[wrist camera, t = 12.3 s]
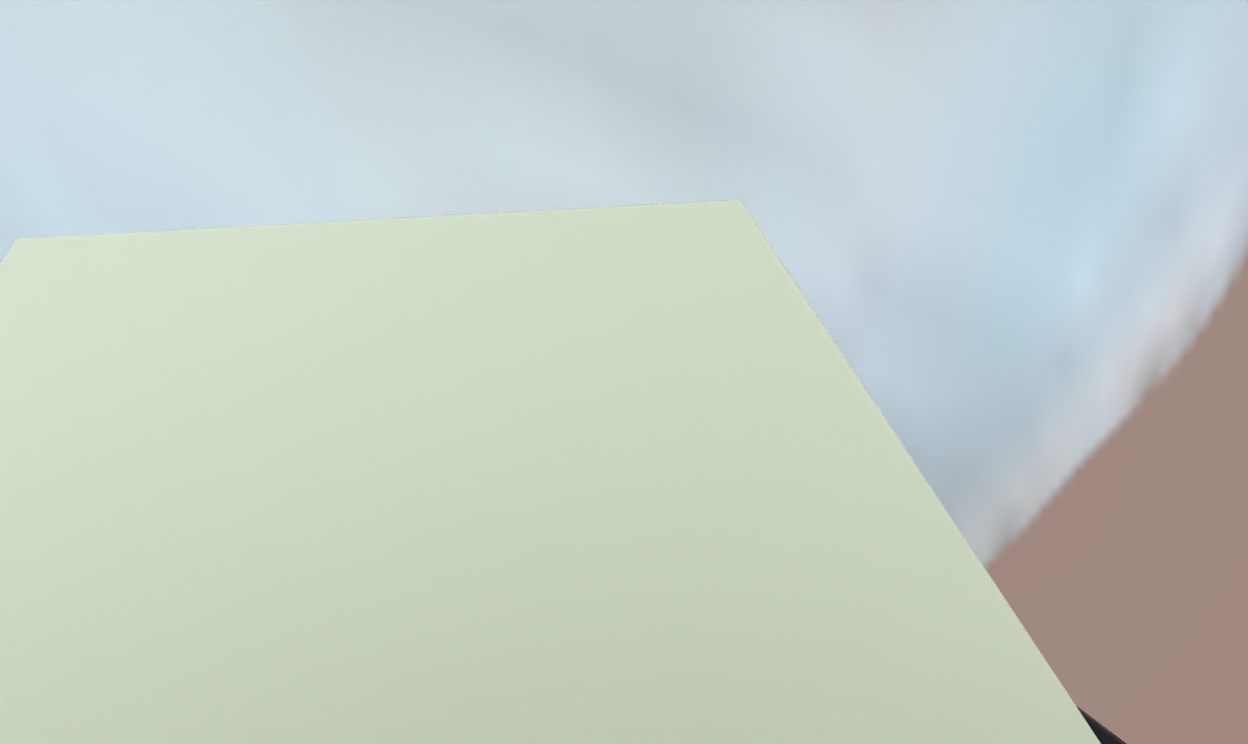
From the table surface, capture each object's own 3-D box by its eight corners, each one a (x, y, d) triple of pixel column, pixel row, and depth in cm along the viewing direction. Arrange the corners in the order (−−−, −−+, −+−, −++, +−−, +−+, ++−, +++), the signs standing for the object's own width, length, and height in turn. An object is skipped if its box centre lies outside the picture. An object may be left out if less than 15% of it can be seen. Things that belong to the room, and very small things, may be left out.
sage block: (172, 721, 10) (28, 1479, 6) (15, 239, 7) (-481, 1055, 3) (693, 651, 11) (887, 1265, 7) (740, 199, 8) (1128, 785, 4)
